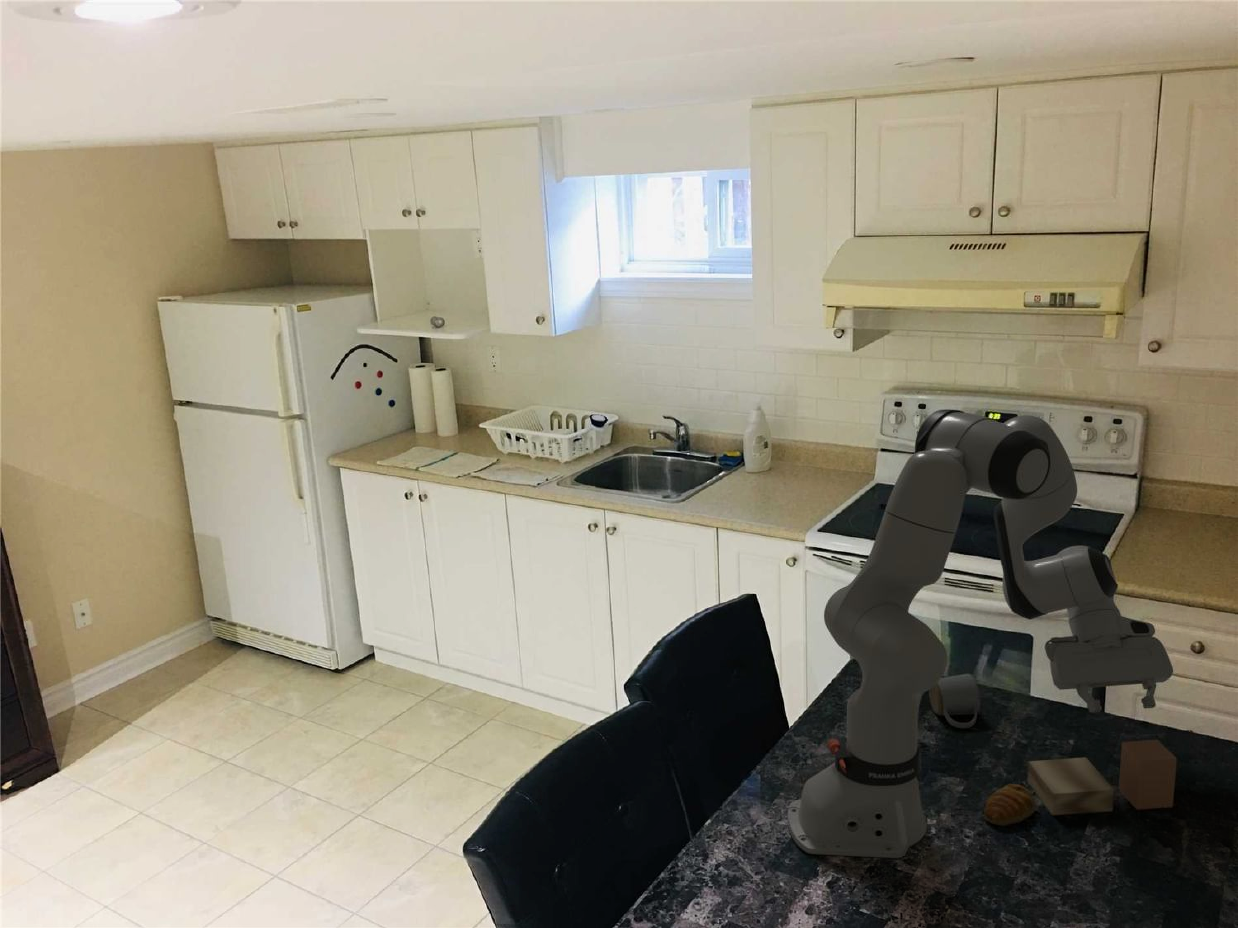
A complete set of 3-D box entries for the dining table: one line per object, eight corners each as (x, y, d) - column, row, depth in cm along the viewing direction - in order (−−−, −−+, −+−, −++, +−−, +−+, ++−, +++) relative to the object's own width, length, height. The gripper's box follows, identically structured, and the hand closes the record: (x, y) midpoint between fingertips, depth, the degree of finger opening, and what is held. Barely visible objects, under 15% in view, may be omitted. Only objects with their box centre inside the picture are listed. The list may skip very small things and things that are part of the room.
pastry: (1010, 835, 167) (1011, 814, 166) (972, 818, 172) (972, 798, 171) (1039, 810, 173) (1040, 790, 172) (1002, 795, 178) (1003, 775, 177)
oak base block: (1052, 815, 171) (1053, 793, 170) (1027, 781, 181) (1028, 761, 180) (1112, 810, 171) (1114, 789, 170) (1084, 777, 181) (1085, 757, 180)
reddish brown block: (1136, 809, 171) (1140, 760, 169) (1118, 789, 177) (1121, 741, 175) (1172, 806, 171) (1176, 758, 169) (1153, 786, 177) (1157, 739, 175)
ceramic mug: (926, 705, 209) (927, 670, 207) (966, 701, 209) (967, 667, 207) (945, 732, 199) (946, 696, 197) (987, 728, 199) (988, 692, 197)
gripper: (1047, 631, 184) (1070, 708, 177) (1162, 623, 184) (1189, 699, 177) (1036, 644, 189) (1057, 718, 182) (1147, 636, 190) (1172, 710, 183)
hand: (1123, 709), depth 180 cm, fingers open, 8 cm apart
